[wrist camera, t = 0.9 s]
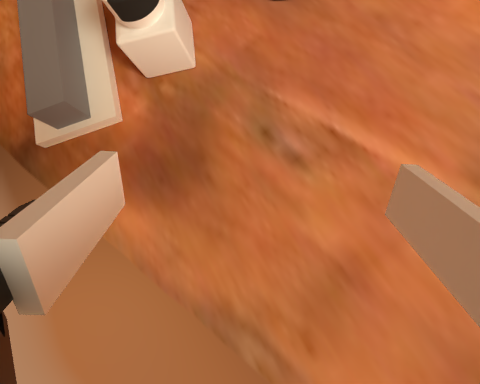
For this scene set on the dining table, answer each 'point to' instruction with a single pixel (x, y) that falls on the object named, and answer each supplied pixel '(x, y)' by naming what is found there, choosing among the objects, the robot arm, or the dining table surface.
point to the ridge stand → (67, 68)
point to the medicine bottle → (154, 34)
